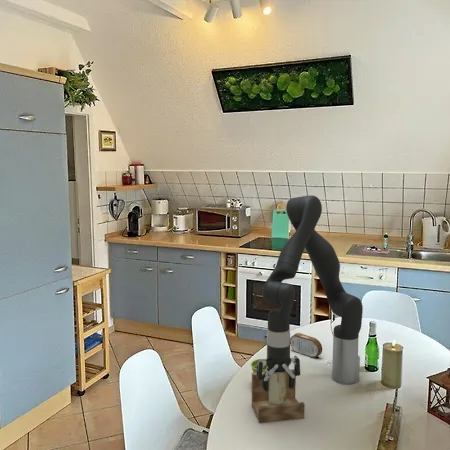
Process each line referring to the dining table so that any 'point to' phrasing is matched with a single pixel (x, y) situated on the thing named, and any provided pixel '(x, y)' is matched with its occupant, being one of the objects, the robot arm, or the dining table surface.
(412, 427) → the dining table surface
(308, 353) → the tin
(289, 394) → the wooden holder
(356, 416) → the dining table surface
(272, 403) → the skincare box
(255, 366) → the plant pot
